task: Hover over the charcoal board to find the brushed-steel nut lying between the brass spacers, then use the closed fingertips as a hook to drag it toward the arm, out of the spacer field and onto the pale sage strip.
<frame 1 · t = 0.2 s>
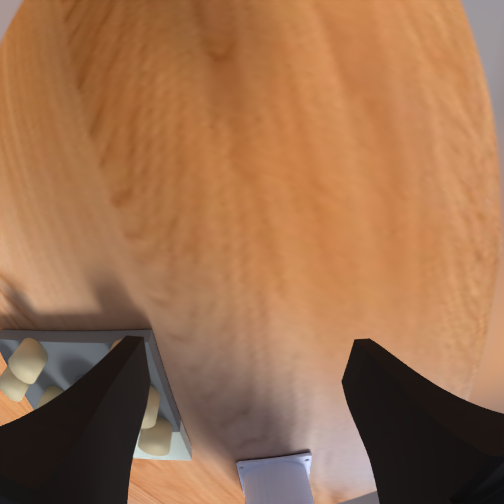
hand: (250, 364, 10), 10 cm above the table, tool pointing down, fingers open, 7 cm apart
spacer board: (95, 399, 23), on the table
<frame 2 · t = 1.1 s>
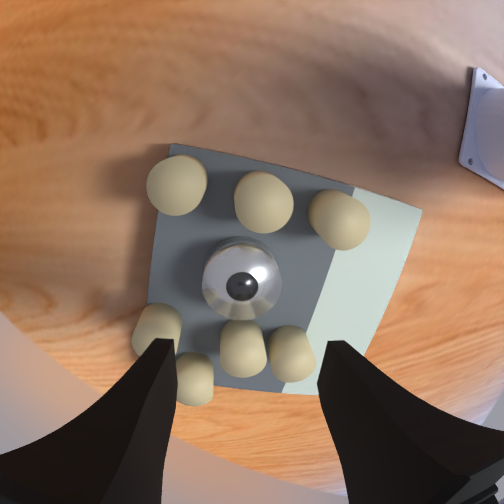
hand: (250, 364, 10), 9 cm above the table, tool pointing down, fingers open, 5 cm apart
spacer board: (273, 289, 20), on the table
steel nut: (240, 270, 17), point 1 cm above the table, touching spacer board
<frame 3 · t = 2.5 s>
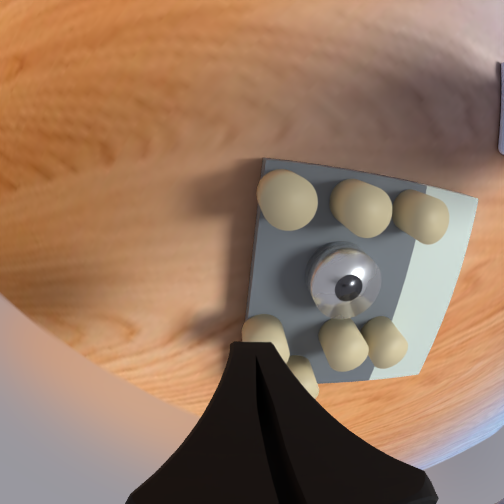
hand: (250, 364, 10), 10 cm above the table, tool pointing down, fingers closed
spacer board: (359, 285, 20), on the table
steel nut: (337, 272, 18), point 1 cm above the table, touching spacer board
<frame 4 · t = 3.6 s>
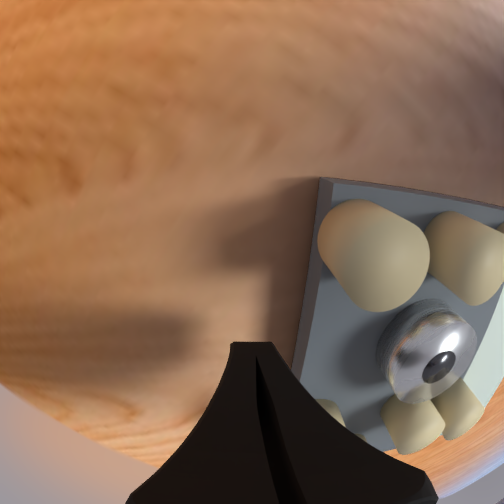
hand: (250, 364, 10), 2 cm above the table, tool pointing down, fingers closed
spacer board: (431, 342, 14), on the table
steel nut: (416, 339, 12), point 1 cm above the table, touching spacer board
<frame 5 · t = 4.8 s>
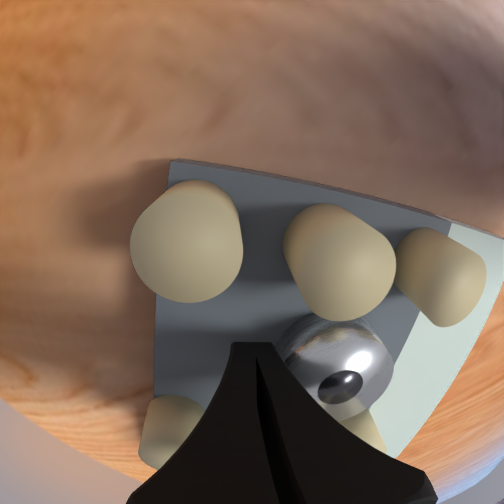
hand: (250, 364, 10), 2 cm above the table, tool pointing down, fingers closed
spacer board: (328, 360, 13), on the table
steel nut: (325, 352, 11), point 1 cm above the table, touching gripper, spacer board
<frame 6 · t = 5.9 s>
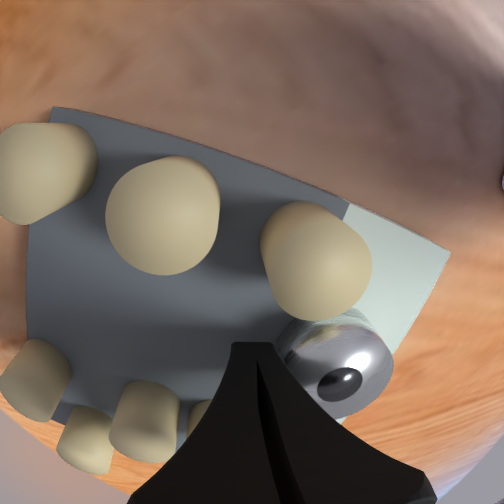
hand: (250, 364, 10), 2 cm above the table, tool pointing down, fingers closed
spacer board: (203, 344, 13), on the table
steel nut: (324, 349, 11), point 2 cm above the table, touching gripper
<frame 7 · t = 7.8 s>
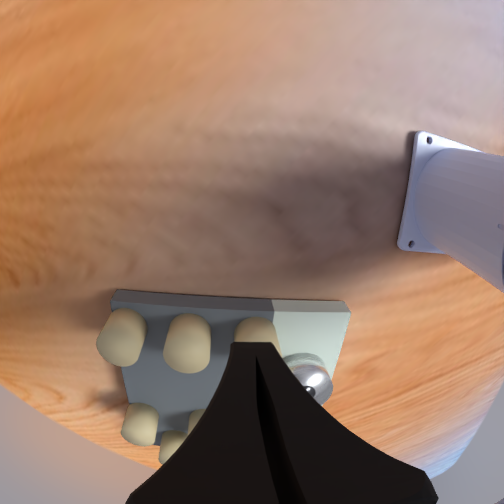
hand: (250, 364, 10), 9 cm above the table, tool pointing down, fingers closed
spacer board: (226, 382, 22), on the table
steel nut: (297, 374, 21), point 1 cm above the table, touching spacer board
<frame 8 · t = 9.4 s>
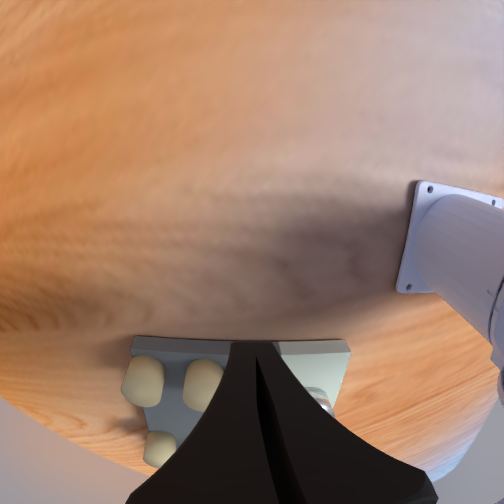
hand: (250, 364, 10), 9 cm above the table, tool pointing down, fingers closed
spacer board: (237, 411, 24), on the table
steel nut: (302, 404, 22), point 1 cm above the table, touching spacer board
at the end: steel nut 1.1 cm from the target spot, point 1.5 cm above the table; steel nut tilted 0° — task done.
